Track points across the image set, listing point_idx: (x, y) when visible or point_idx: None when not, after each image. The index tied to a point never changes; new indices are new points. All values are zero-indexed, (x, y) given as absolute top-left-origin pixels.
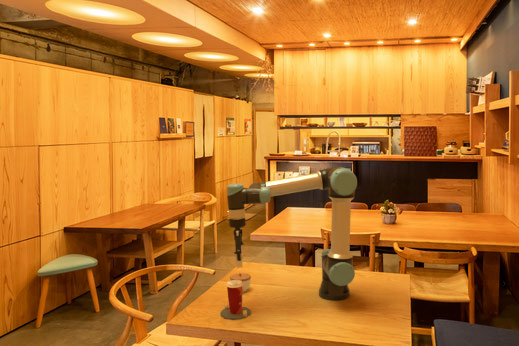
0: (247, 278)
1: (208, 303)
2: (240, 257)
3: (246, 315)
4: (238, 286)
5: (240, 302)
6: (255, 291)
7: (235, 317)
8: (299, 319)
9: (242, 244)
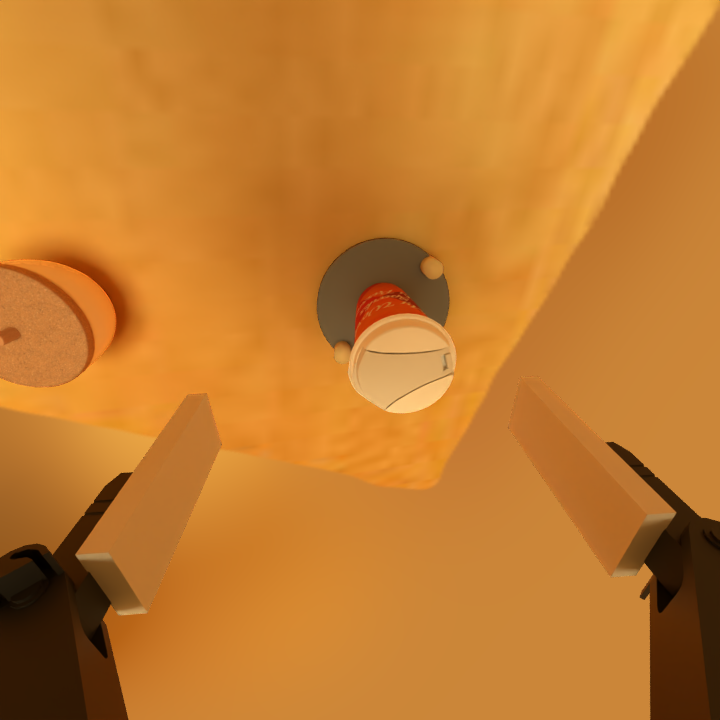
0: (43, 284)
1: (267, 417)
2: (657, 477)
3: (435, 258)
4: (448, 340)
5: (411, 299)
6: (70, 223)
7: (445, 305)
8: None
9: (58, 567)
